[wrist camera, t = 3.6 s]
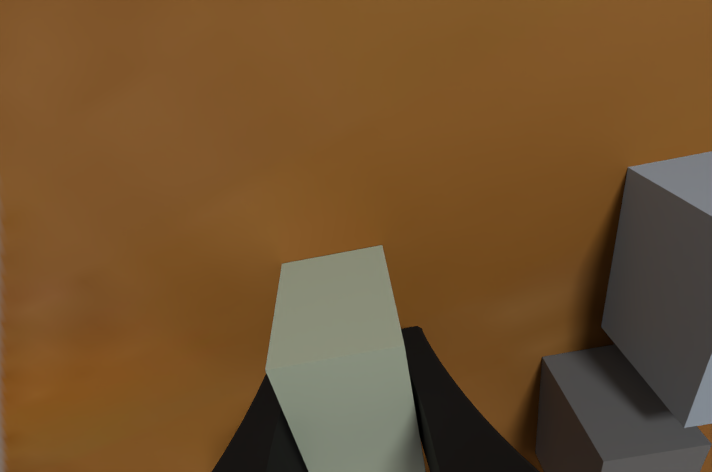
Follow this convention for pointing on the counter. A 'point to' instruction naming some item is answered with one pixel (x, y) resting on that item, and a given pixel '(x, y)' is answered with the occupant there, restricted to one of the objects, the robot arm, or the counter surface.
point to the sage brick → (343, 365)
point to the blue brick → (666, 283)
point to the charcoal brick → (609, 419)
